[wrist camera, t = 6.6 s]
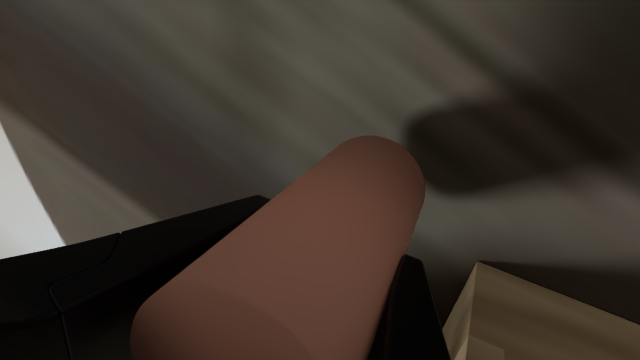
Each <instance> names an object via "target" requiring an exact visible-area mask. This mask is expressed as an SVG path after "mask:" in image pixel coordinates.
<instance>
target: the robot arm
mask: <svg viewBox="0 0 640 360" xmlns="http://www.w3.org/2000/svg"><path fill="white" fill-rule="evenodd" d="M270 200H271V199H269V198H266V197H264V196H261V195H255V196H251V197H247V198H244V199H240V200H236V201H233V202H229V203H225V204H222V205H218V206H214V207H211V208H207V209H203V210H200V211H196V212H192V213H189V214H185V215H181V216H178V217H174V218H170V219H167V220H163V221H159V222H156V223H152V224H148V225H145V226H141V227H137V228H134V229H130V230H126V231H123V232H122V233H121V234H120V233H115V234H111V235H108V236H104V237H100V238H96V239H92V240H88V241H84V242H80V243H76V244H72V245H67V246H63V247H58V248H54V249H49V250H44V251H40V252H34V253H29V254H24V255H20V256H14V257H9V258H5V259H0V360H132V355H131V346H130V336H131V328H132V324H133V320H134V318H135V315H136V313H137V311H138V310H139V308H140V307H141V305H142V304H143V303H144V302H145V301H146V300H147V299H148V298H149V297H150V296H152V295H153V294H154V293H155V292H157V291H158V290H159V289H160V288H162V287H163V286H164V285H165V284H167V283H168V282H169V281H170V280H172V279H173V278H174V277H175V276H177V275H178V274H179V273H180V272H182V271H183V270H184V269H185V268H187V267H188V266H189V265H190V264H192V263H193V262H194V261H195V260H197V259H198V258H199V257H200V256H202V255H203V254H204V253H205V252H207V251H208V250H209V249H210V248H212V247H213V246H214V245H215V244H217V243H218V242H219V241H220V240H222V239H223V238H224V237H225V236H227V235H228V234H229V233H230V232H232V231H233V230H234V229H235V228H237V227H238V226H239V225H240V224H242V223H243V222H244V221H245V220H247V219H248V218H249V217H250V216H252V215H253V214H254V213H255V212H257V211H258V210H259V209H260V208H262V207H263V206H264V205H265V204H267V203H268V202H269V201H270ZM367 360H451V358H450V355H449V351H448V348H447V344H446V341H445V338H444V334H443V331H442V327H441V324H440V320H439V317H438V313H437V310H436V307H435V303H434V300H433V296H432V293H431V289H430V286H429V282H428V279H427V276H426V272H425V269H424V265H423V262H422V261H421V260H420V259H417V258H415V257H412V256H410V255H407V254H405V255H403V257H402V260H401V263H400V265H399V268H398V271H397V273H396V276H395V279H394V281H393V284H392V287H391V290H390V293H389V296H388V300H387V303H386V307H385V310H384V314H383V317H382V319H381V322H380V325H379V328H378V330H377V333H376V336H375V339H374V341H373V344H372V347H371V350H370V353H369V355H368V358H367Z"/></svg>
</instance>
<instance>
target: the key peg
mask: <svg viewBox="0 0 640 360" xmlns="http://www.w3.org/2000/svg"><path fill="white" fill-rule="evenodd" d="M424 198H425V182H424V177H423V174H422V171H421V169H420V167H419V165H418V163H417V162H416V160H415V159H414V158H413V156H412V155H411V154H410V153H409V152H408V151H407V150H406V149H404V148H403V147H402V146H400V145H399V144H397V143H395V142H393V141H391V140H389V139H386V138H382V137H378V136H361V137H356V138H353V139H350V140H348V141H346V142H344V143H342V144H341V145H339V146H338V147H337V148H335V149H334V150H333V151H332V152H330V153H329V154H328V155H327V156H325V157H324V158H323V159H322V160H320V161H319V162H318V163H317V164H315V165H314V166H313V167H312V168H310V169H309V170H308V171H307V172H305V173H304V174H303V175H302V176H300V177H299V178H298V179H297V180H295V181H294V182H293V183H292V184H290V185H289V186H288V187H287V188H285V189H284V190H283V191H282V192H280V193H279V194H278V195H277V196H275V197H274V198H273V199H272V200H270V201H269V202H268V203H267V204H265V205H264V206H263V207H262V208H260V209H259V210H258V211H257V212H255V213H254V214H253V215H252V216H250V217H249V218H248V219H247V220H245V221H244V222H243V223H242V224H240V225H239V226H238V227H237V228H235V229H234V230H233V231H232V232H230V233H229V234H228V235H227V236H225V237H224V238H223V239H222V240H220V241H219V242H218V243H217V244H215V245H214V246H213V247H212V248H210V249H209V250H208V251H207V252H205V253H204V254H203V255H202V256H200V257H199V258H198V259H197V260H195V261H194V262H193V263H192V264H190V265H189V266H188V267H187V268H185V269H184V270H183V271H182V272H180V273H179V274H178V275H177V276H175V277H174V278H173V279H172V280H170V281H169V282H168V283H167V284H165V285H164V286H163V287H162V288H160V289H159V290H158V291H157V292H155V293H154V294H153V295H152V296H150V297H149V298H148V299H147V300H146V301H145V302H144V303H143V304H142V305H141V307H140V308H139V310H138V311H137V313H136V315H135V318H134V320H133V324H132V328H131V336H130V346H131V355H132V360H367V358H368V355H369V353H370V350H371V347H372V344H373V341H374V339H375V336H376V333H377V330H378V328H379V325H380V322H381V319H382V317H383V314H384V310H385V307H386V303H387V300H388V296H389V293H390V290H391V287H392V284H393V281H394V279H395V276H396V273H397V271H398V268H399V265H400V263H401V260H402V257H403V255H405V253H406V250H407V247H408V244H409V242H410V239H411V236H412V233H413V230H414V228H415V225H416V222H417V219H418V217H419V214H420V211H421V208H422V205H423V202H424Z"/></svg>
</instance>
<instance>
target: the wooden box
mask: <svg viewBox="0 0 640 360" xmlns="http://www.w3.org/2000/svg"><path fill="white" fill-rule="evenodd" d="M442 331H443V334H444V338H445V341H446V344H447V348H448V351H449V355H450V358H451V360H640V325H638V324H636V323H633V322H631V321H628V320H626V319H623V318H621V317H618V316H616V315H613V314H610V313H608V312H605V311H603V310H600V309H598V308H595V307H593V306H590V305H588V304H585V303H582V302H580V301H577V300H575V299H572V298H570V297H567V296H565V295H562V294H559V293H557V292H554V291H552V290H549V289H547V288H544V287H542V286H539V285H537V284H534V283H531V282H529V281H526V280H524V279H521V278H519V277H516V276H514V275H511V274H509V273H506V272H503V271H501V270H498V269H496V268H493V267H491V266H488V265H486V264H483V263H481V262H478V261H477V263H476V265H475V267H474V269H473V271H472V272H471V274H470V276H469V278H468V280H467V282H466V284H465V286H464V288H463V290H462V292H461V294H460V296H459V298H458V300H457V302H456V304H455V305H454V307H453V309H452V311H451V313H450V315H449V317H448V319H447V321H446V323H445V325H444V327H443V329H442Z"/></svg>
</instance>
